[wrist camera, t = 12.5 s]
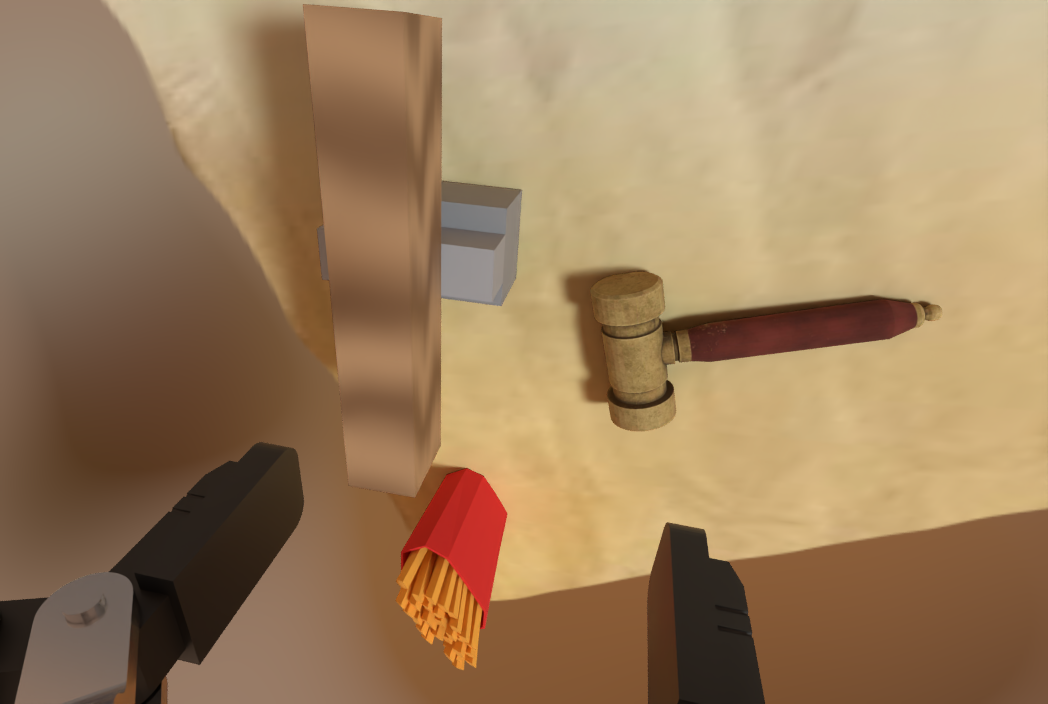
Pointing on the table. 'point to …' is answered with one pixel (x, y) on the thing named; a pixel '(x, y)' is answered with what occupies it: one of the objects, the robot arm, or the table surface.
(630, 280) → the gavel
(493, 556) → the french fries
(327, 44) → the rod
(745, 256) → the table surface
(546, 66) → the table surface
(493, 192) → the steps
